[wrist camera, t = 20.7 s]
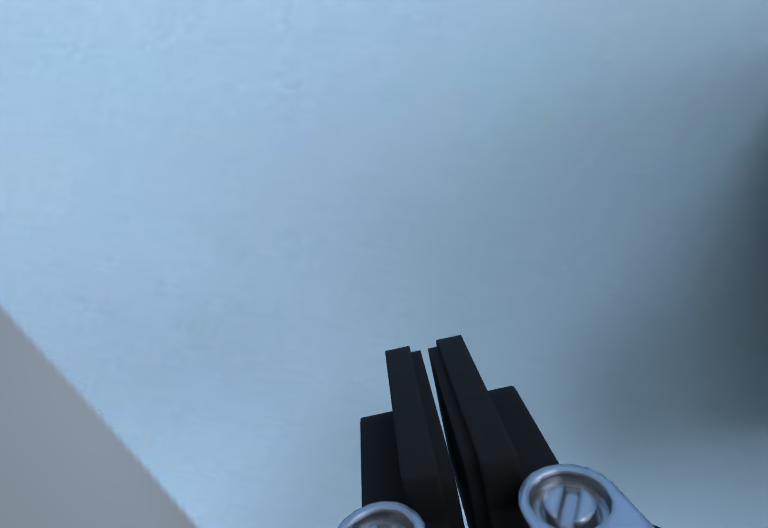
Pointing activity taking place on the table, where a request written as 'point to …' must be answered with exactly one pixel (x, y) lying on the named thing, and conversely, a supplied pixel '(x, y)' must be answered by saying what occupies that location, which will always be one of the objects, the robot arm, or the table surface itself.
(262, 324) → the table surface
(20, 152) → the table surface
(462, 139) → the table surface
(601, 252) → the table surface
